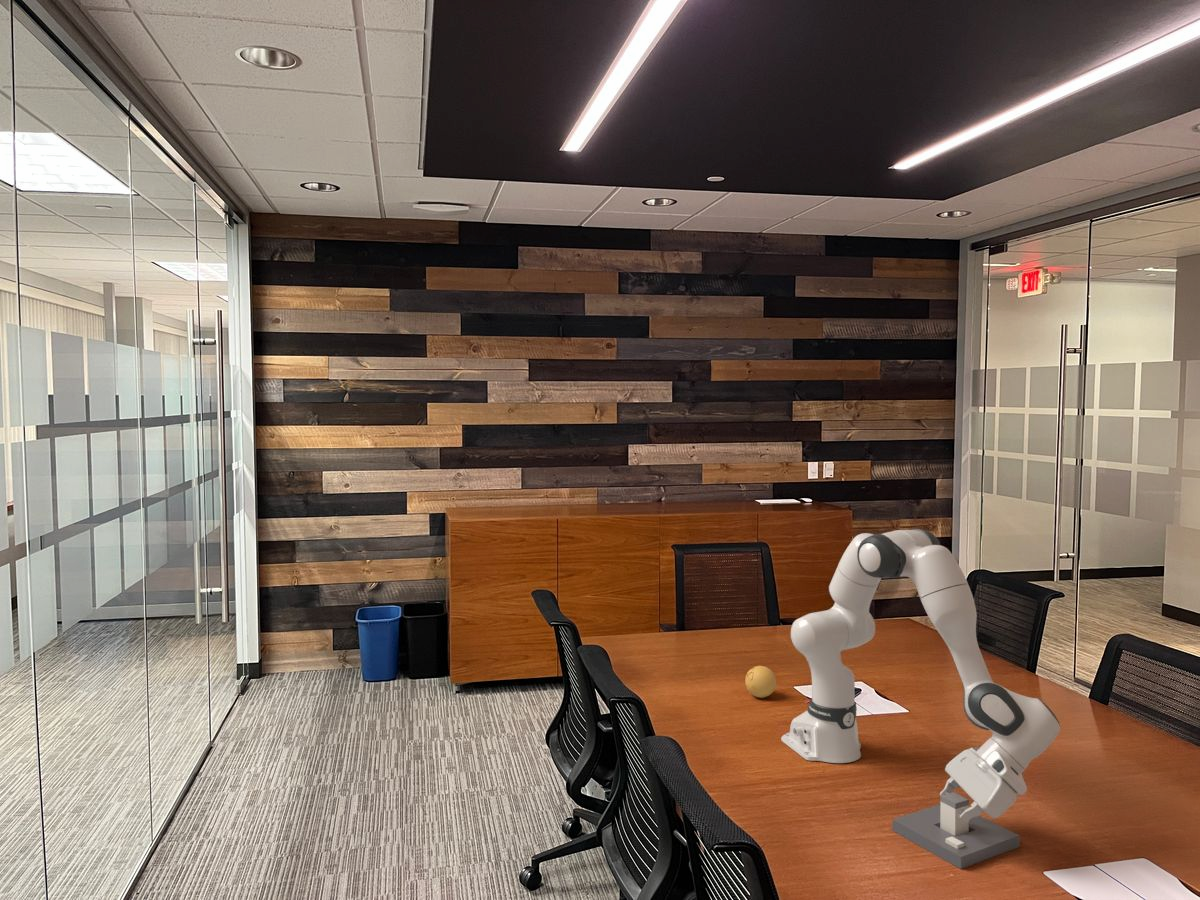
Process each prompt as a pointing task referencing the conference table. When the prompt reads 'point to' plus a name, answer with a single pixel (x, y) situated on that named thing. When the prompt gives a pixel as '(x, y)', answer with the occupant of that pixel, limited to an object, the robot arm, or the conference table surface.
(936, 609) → the robot arm
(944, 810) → the plug
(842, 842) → the conference table surface
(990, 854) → the socket plate
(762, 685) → the stress ball
